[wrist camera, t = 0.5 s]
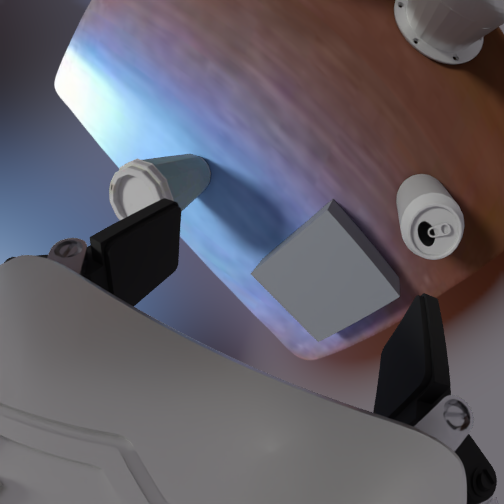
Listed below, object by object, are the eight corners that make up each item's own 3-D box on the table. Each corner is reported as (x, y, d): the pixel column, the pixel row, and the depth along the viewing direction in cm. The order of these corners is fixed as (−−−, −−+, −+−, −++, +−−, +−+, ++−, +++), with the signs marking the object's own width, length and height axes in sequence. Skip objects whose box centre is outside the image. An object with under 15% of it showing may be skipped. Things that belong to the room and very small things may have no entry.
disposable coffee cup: (233, 163, 44) (173, 190, 32) (207, 216, 50) (151, 255, 38) (181, 132, 45) (114, 148, 33) (162, 184, 51) (101, 213, 39)
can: (387, 184, 36) (390, 212, 27) (435, 164, 32) (456, 186, 22) (406, 232, 38) (413, 275, 28) (452, 214, 34) (474, 253, 24)
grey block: (333, 198, 40) (327, 209, 36) (399, 278, 41) (399, 296, 37) (262, 258, 50) (250, 273, 46) (324, 323, 51) (318, 341, 47)
